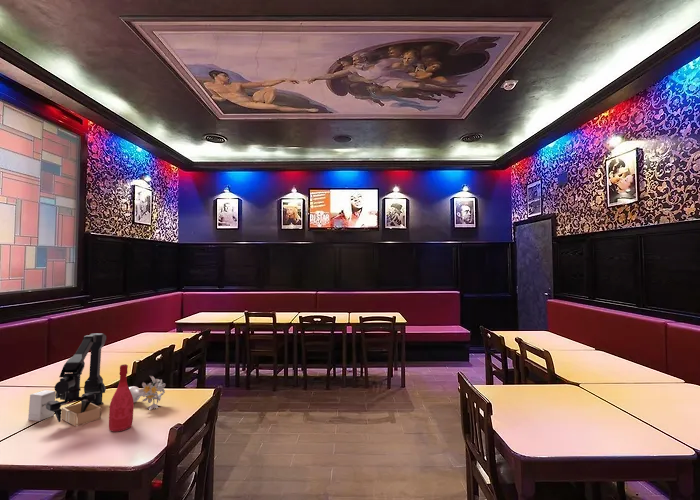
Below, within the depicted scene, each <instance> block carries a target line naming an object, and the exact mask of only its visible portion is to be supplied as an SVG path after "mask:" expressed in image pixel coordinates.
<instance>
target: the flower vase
mask: <svg viewBox="0 0 700 500" xmlns="http://www.w3.org/2000/svg"><path fill="white" fill-rule="evenodd" d="M149 377H150V380H151V381H152V382H149V383H147V384H146V382H142V383H141V386H142V388H139V387H138V386H134V385H133V386H128V387H129V390H130V392H131V394H132V397H133V401H134V404H135V403H137V402H138V401H139V399H140V398H141V397H143V398H144V399H142V402H147V403H149V404H150V406H148V407H146V408H148V409H149V410H150V411H151V409H152V410H153V409H154V410H156V409H155V408H159V407H158V406H161V405H159V404H158V403H159V402H160V401H161V399H162V396H163V395H164V394H165V393H166V391H165V387H166V383H163V379H159V378H155V377H154V376H153V375H149ZM158 392H160V393H158ZM155 400H156V402H155ZM152 401H153V402H152ZM151 403H152V404H151Z"/></svg>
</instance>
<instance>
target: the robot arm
mask: <svg viewBox="0 0 700 500" xmlns="http://www.w3.org/2000/svg"><path fill="white" fill-rule="evenodd" d="M106 341H107V335H106V334H105V333H90V334H89V335H88V334H87V335H84V336H83V338H82V341H81V343H80V345H79V347H78V348H77V349H76V351H75V353H74V354H73V356H71V357H69V358H68V359H67V360H66V362H65V363H64V365H63V366H62V369H61V372H60V375H58V376H59V381H58V382H56V383H55V386H54V391H56V392H55V401H52V402H48V403H47V404H46V409H48V410H49V411H53V412H54V415H55V417H56V421H57V422H58V423H61V420H62V419H61V413H62V406H65V405H69V404H70V405H71V404H73V403H76V402H78V403H79V402H80V403H82V406H81V413H83V412H85V410H86V408H87V407H88V405H89V404H90V403H92V404H95V405H97V406H99V405H103V404H104V401H103V395H104V394H105V393H106V390H107V387H106V386H105V383H104V379H103V377H102V376H101V362H102V361H101V360H102V359H101V358H102V348H103V347H104V345H105V344H106ZM89 351H90V358H89V359H90V360H89V373H88V374H89V376H88V378H87V379H85V381H84V387H83V393H82V395H80V391H81V390H82V389H81V375H83V370H84V369H85V359H86V357H87V355H88V353H89ZM57 399H59V401H58V400H57ZM61 400H62V401H61Z"/></svg>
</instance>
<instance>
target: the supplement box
mask: <svg viewBox="0 0 700 500" xmlns="http://www.w3.org/2000/svg"><path fill="white" fill-rule="evenodd" d="M55 395H56V391H55V390H48V389H44V390H42V391H39V392H38V391H37V392H34V393H31V394H30V395H29V402H28V403H29V405H28V417H27V420H29V421H35V422H41V421H43V420H45V419H48V418H50V417H54V415H55V413H54V412H53V411H49V410H48V409H46V404H47V403H48V402H52V401H56V397H55Z"/></svg>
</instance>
